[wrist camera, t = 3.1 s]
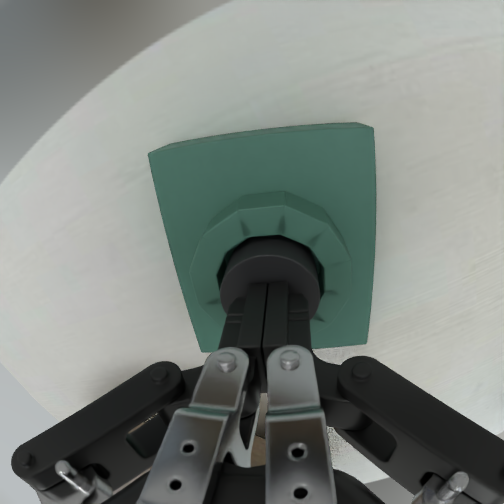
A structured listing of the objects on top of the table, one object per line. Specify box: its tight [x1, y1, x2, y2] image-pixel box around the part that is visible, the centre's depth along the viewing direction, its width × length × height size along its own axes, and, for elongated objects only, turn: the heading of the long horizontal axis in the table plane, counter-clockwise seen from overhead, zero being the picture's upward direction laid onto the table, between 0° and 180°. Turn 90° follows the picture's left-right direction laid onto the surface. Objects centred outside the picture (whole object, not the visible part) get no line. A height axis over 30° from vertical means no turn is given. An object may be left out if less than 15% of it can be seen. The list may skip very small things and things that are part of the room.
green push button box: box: [148, 122, 376, 352], centre depth 15 cm, size 12×10×5 cm
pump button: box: [220, 235, 320, 320], centre depth 13 cm, size 4×4×2 cm
